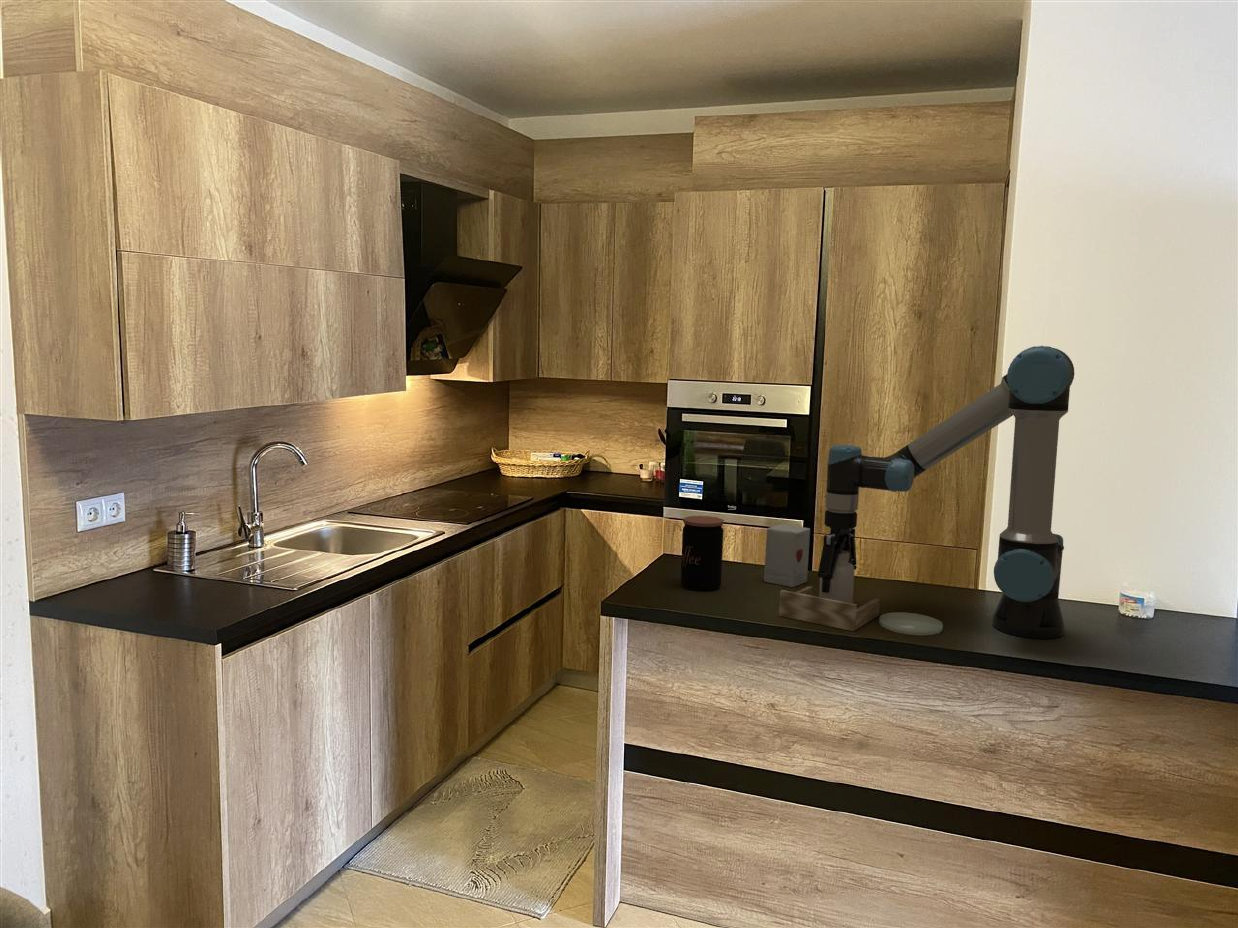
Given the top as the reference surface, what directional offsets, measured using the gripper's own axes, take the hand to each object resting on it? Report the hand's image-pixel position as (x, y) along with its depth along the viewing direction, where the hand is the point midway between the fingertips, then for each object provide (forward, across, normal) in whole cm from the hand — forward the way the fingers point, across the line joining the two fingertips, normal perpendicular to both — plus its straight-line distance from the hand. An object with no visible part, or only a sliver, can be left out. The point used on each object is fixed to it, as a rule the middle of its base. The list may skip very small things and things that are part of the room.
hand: (835, 600), depth 222 cm
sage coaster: (+3, -1, +18) cm, 18 cm away
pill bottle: (+3, 0, 0) cm, 3 cm away
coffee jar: (+3, +1, -37) cm, 37 cm away
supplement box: (+3, -19, -22) cm, 29 cm away
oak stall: (+3, +3, 0) cm, 4 cm away
